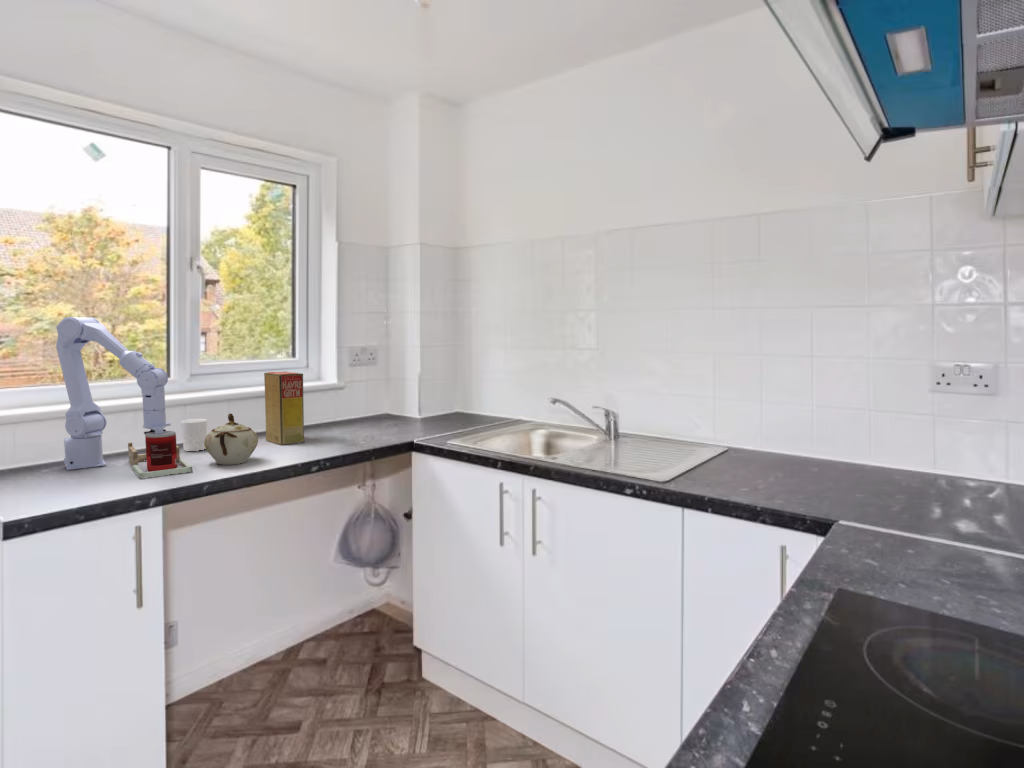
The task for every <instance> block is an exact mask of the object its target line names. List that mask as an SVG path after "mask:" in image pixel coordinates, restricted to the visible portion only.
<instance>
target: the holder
mask: <svg viewBox="0 0 1024 768" xmlns="http://www.w3.org/2000/svg"><path fill="white" fill-rule="evenodd" d="M176 446H177V464H179V460H181V458H180V457H181V456H180V453H181V452H180V446H179V445H177V444H176ZM127 448H128V450H127V451H128V462H130V463H129V464H130V465H131V467H132V466H133V465H138V466H139V462H138V461H140V462H145V461H144V460H147V459H146V453H142V454H141V453H140V454H138V450H137V449H136V448H135V447H134V446H133V442H132V441H131V442H128V443H127Z"/></svg>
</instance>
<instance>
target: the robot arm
mask: <svg viewBox="0 0 1024 768" xmlns="http://www.w3.org/2000/svg"><path fill="white" fill-rule="evenodd" d="M56 331H57V339H56V340H57V341H56V345H55V346H56V347H55V348H56V353H57V356H58V360H59V364H60V368H61V369H60V370H61V371H62V376H63V380H64V384H65V389H66V393H67V396H68V400H69V403H70V406H69V408H68V409H67V411H66V412H65V425H64V427H65V428H64V429H65V431H66V433H67V435H70V437H67V438H63V441H64V442H63V447H64V457H63V461H64V462H63V464H65V468H66V470H67V471H70V470H71V471H72V470H77V469H78V470H79V469H87V468H95V467H97V468H98V467H105V466H107V463H106V461H105V460H104V456H103V455H104V453H103V452H104V451H103V437H102V436H103V431H104V430H105V428H106V427H107V424H108V423H107V422H108V421H107V418H106V416H105V415H104V414H103V412H102V410H101V407H100V406H99V405H98V404H96V403H95V402H94V401H93V395H92V392H91V388H90V385H89V381H88V376H87V372H86V369H85V364H84V360H83V356H82V353H81V351H82V349H83V348H84V347H85V346H87V344H88V343H90V342H96V343H98V344H99V345H100V346H102V347H103V348H104V349H106V350H107V351H108V352H110V354H112V355H114V356H115V357H116V358H118V359H119V360H118V362H119V363H118V365H120V366H121V367H122V368H123V369H124V370H125V371H126V372H127V373H129V374H130V375H131V376H133V378H134V379H136V384H137V386H139V388H140V389H141V390H140V391H141V394H142V415H143V425H142V427H143V429H147V431H143V434H144V435H145V434H147V433H150V432H155V434H163V431H167V430H166V429H165V428H166V427H170V426H171V422H167V418H166V415H167V414H166V394H165V392H166V391H165V386H166V385H167V383H168V380H169V376H168V374H167V372H166V371H165V370H164V369H163V368H162V367H161V368H160V367H156V365H155V364H154V363H151V362H150V361H148V360H147V359H145V358H144V357H143V356H144V354H143V353H142V352H141V351H137V350H129V349H128V348H126V347H125V346H124V344H122V343H121V342H120V341H119V340H118V339H117V338H116V337H115V336H114V335H113V334H112V333H111V332H110V331H109V330H108V329H107V327H106V325H105V324H103V323H102V322H100V321H99V320H98V319H97V318H95V317H90V316H86V317H76V316H75V317H74V316H67V317H64V318H63V319H62V320H61V321H60V322H59V323H58V324H57V325H56Z"/></svg>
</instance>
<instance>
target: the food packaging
mask: <svg viewBox="0 0 1024 768" xmlns="http://www.w3.org/2000/svg"><path fill="white" fill-rule="evenodd" d="M263 375H264V405H265V407H264V408H265V411H264V412H265V441H266V440H267V441H266V442H269V441H270V442H269V443H272V442H273V443H272V444H275V443H276V444H275V445H278V444H279V446H286V445H285V444H288V445H293V444H292V443H295V444H299V443H298V442H302V443H305V426H304V425H305V424H304V422H305V419H304V417H305V415H304V374H303V373H298V372H291V371H268V372H264V373H263Z"/></svg>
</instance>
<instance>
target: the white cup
mask: <svg viewBox="0 0 1024 768" xmlns="http://www.w3.org/2000/svg"><path fill="white" fill-rule="evenodd" d="M180 431H181V437H182V440H181V441H182V445H183V451H184V450H185V451H184V452H186V451H196V452H200V451H199V450H203V451H205V450H204V449H206V448H205V445H204V440H205V438H206V436H207V435H208V419H205V418H191V419H184V420H183V419H182V420H181V421H180Z"/></svg>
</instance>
